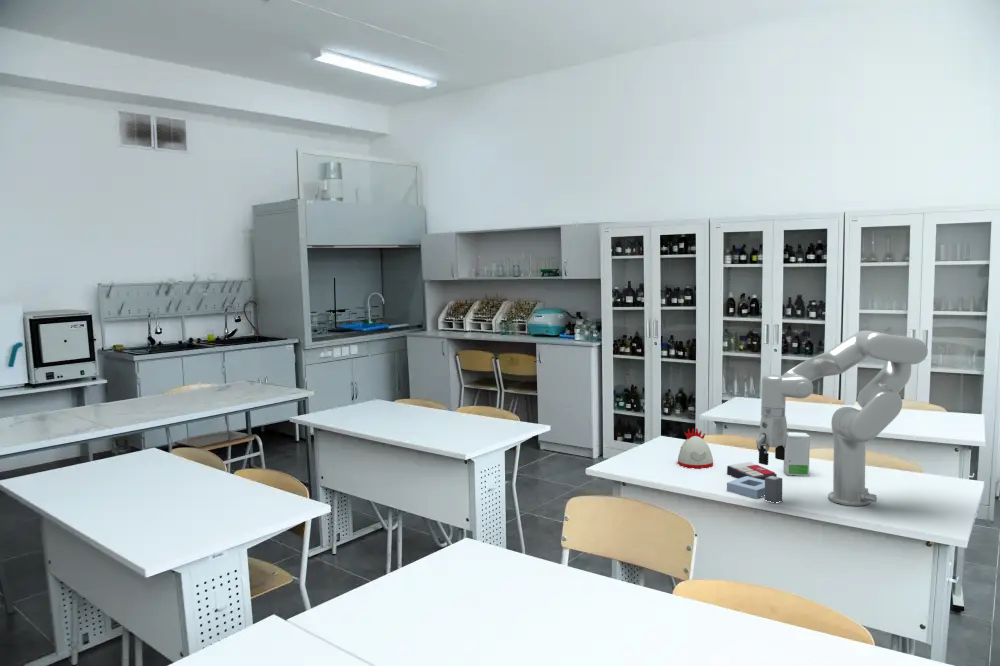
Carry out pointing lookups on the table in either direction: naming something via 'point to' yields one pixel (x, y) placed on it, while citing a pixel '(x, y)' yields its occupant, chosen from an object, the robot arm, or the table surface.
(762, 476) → the calculator
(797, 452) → the skincare box
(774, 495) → the block
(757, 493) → the outlet plate
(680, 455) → the kitchen timer
